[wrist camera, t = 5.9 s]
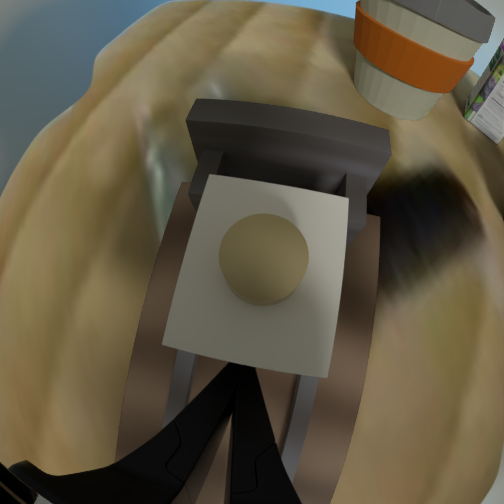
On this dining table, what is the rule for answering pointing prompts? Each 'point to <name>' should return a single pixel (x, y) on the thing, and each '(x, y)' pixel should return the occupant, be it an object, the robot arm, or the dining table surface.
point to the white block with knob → (261, 277)
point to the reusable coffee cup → (415, 51)
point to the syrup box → (489, 99)
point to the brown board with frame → (351, 300)
